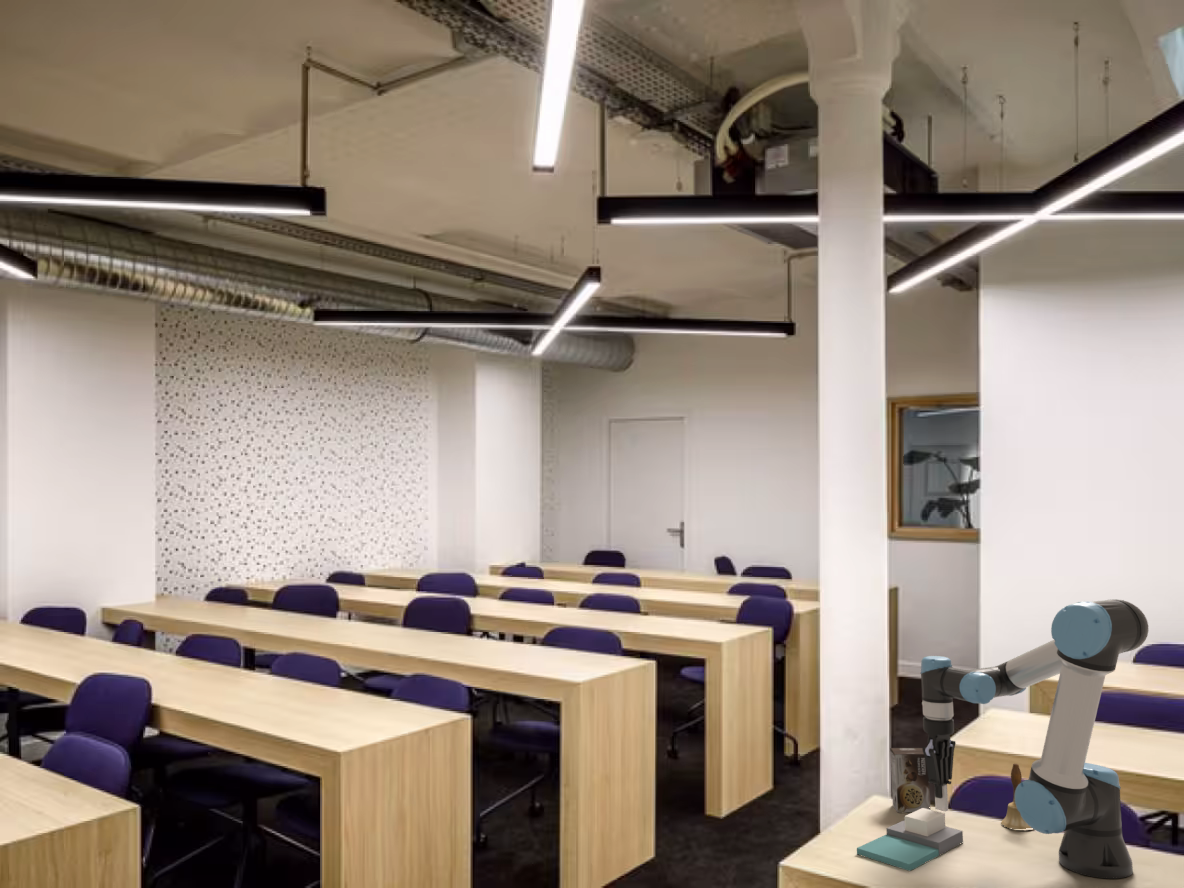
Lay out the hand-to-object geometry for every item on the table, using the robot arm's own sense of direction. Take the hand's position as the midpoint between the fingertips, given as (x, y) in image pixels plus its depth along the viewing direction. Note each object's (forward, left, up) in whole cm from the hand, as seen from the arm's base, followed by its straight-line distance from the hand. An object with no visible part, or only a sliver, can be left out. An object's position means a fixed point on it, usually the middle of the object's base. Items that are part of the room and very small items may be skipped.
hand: (941, 809), depth 236 cm
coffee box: (+15, -11, -6) cm, 19 cm away
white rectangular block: (0, +9, -3) cm, 9 cm away
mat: (0, +22, -6) cm, 23 cm away
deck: (0, +9, -6) cm, 11 cm away
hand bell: (-11, -19, -6) cm, 23 cm away
